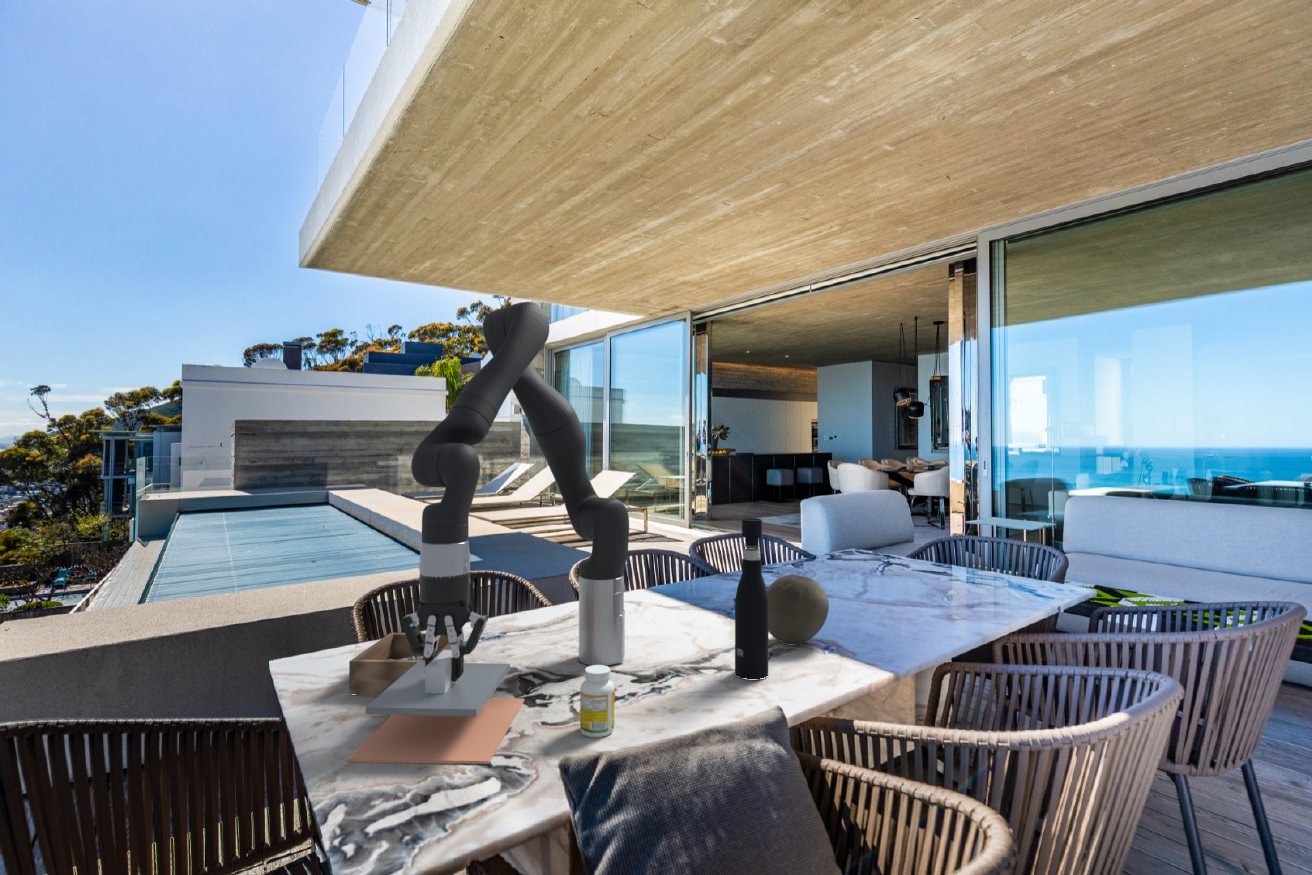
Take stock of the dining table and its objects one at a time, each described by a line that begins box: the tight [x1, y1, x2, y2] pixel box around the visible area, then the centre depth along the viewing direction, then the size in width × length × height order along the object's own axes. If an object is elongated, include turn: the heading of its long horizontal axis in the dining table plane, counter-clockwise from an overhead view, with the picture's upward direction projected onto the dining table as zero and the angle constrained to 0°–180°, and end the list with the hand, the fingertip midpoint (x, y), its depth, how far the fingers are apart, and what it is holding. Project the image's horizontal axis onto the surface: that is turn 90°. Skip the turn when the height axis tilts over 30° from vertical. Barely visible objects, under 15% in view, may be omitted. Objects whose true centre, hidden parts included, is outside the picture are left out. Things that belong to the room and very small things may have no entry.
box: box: [348, 632, 465, 697], centre depth 124 cm, size 15×17×6 cm
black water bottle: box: [734, 517, 769, 679], centre depth 127 cm, size 6×6×30 cm
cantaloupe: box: [767, 574, 830, 645], centre depth 146 cm, size 14×14×15 cm
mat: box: [347, 697, 525, 765], centre depth 103 cm, size 20×22×1 cm
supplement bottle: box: [579, 665, 616, 738], centre depth 102 cm, size 5×5×10 cm
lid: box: [364, 650, 511, 716], centre depth 103 cm, size 16×19×6 cm
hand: (444, 679), depth 103 cm, fingers closed on lid, 3 cm apart
